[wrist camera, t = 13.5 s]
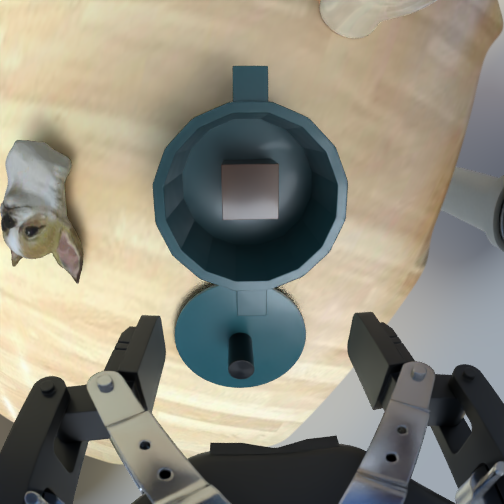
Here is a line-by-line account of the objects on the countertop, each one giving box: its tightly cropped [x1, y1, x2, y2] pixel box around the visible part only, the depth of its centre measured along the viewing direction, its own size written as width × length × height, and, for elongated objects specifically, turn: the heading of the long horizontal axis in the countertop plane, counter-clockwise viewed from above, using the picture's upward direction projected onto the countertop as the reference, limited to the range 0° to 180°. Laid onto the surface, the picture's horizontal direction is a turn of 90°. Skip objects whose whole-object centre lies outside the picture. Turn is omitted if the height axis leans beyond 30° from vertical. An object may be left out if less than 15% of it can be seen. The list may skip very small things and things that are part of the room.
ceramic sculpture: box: [0, 140, 83, 284], centre depth 25 cm, size 11×9×15 cm
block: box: [221, 159, 279, 220], centre depth 27 cm, size 4×4×4 cm
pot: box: [153, 66, 348, 316], centre depth 26 cm, size 14×19×8 cm
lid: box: [175, 285, 306, 388], centre depth 33 cm, size 15×15×6 cm
